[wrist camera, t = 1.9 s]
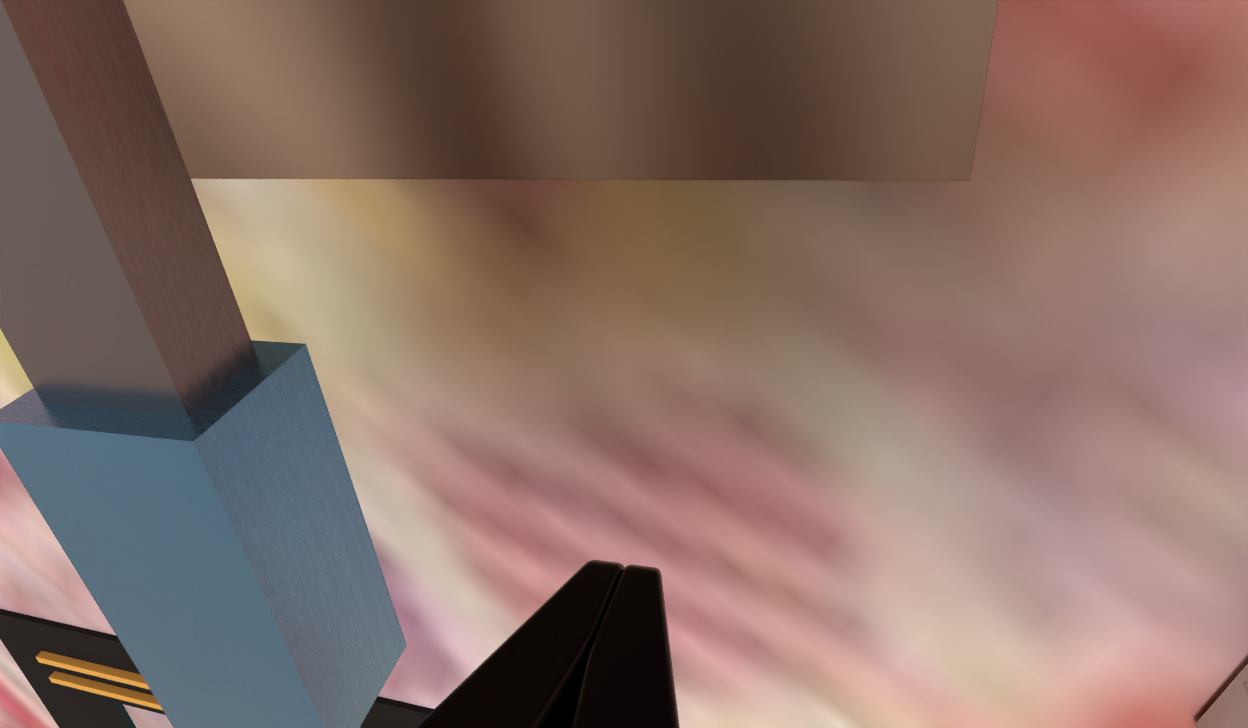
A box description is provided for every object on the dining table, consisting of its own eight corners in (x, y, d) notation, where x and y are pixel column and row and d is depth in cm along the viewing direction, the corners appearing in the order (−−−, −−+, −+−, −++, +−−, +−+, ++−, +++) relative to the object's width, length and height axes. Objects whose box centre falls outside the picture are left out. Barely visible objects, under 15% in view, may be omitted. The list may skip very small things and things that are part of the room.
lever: (-421, -773, 6) (-951, -1041, 4) (-91, -924, 5) (-581, -1339, 3) (247, 619, 13) (162, 724, 12) (418, 646, 12) (351, 764, 11)
